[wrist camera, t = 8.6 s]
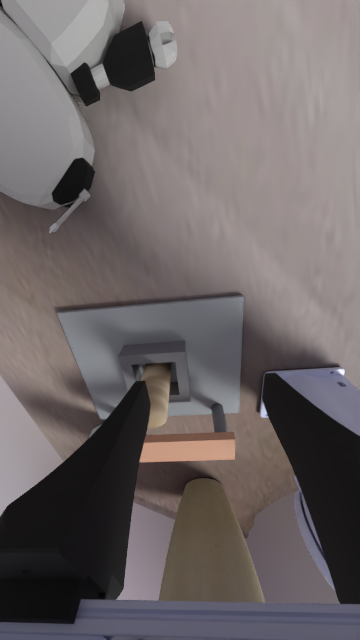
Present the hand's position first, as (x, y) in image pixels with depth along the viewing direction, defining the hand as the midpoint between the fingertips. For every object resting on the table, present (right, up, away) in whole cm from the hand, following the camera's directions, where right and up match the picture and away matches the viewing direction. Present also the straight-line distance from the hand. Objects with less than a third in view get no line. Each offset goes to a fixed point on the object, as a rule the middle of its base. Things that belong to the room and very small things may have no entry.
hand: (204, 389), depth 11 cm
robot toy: (-10, +21, +3) cm, 23 cm away
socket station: (-4, -1, +12) cm, 13 cm away
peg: (-4, -1, +12) cm, 12 cm away
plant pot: (+3, -28, +25) cm, 38 cm away
